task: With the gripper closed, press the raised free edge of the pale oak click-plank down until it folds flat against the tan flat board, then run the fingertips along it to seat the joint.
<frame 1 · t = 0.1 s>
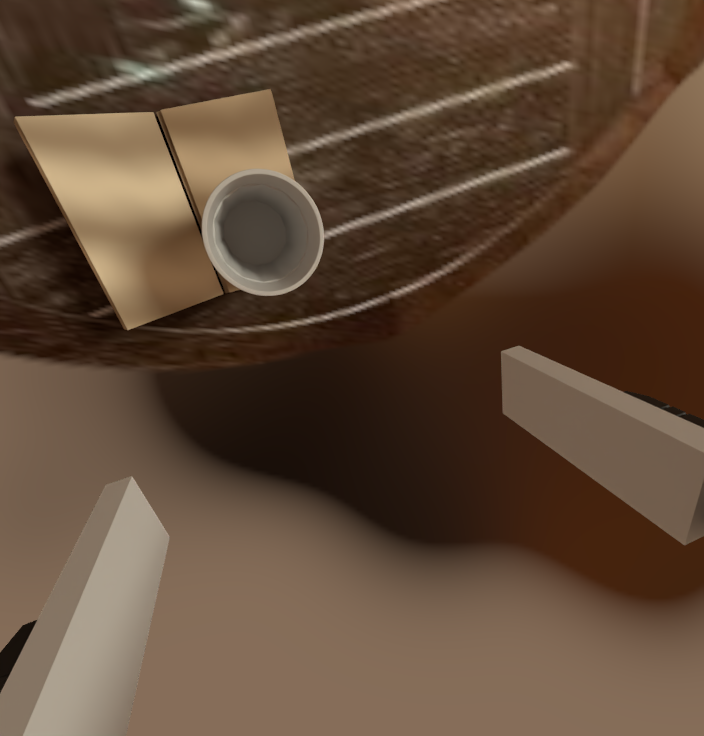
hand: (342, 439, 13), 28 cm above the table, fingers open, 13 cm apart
tan flat board: (248, 199, 33), on the table
cup: (254, 233, 35), resting on tan flat board
plank: (138, 224, 29), point 3 cm above the table, hinge at 30.0°
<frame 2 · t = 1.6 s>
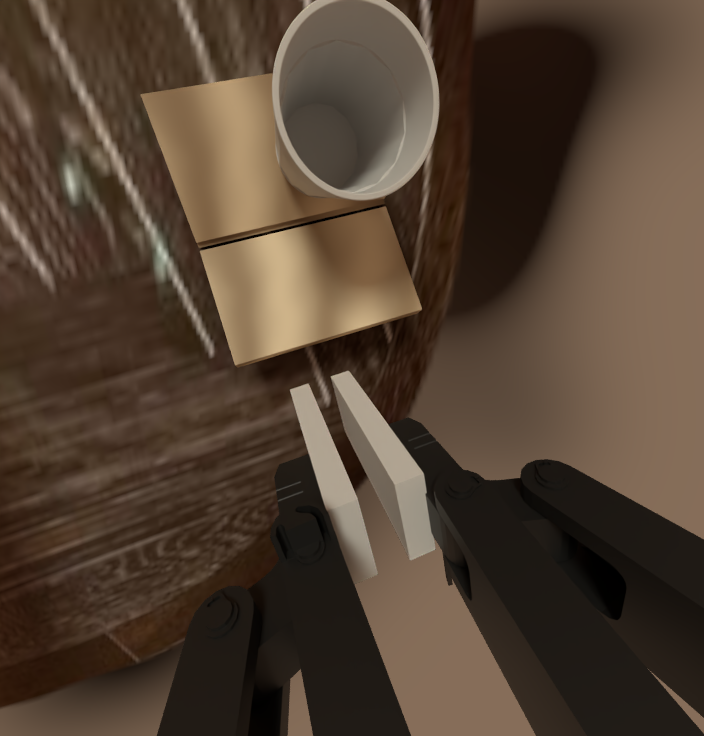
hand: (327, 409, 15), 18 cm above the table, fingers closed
tan flat board: (276, 155, 27), on the table
cup: (316, 154, 27), resting on tan flat board
plank: (314, 283, 28), point 3 cm above the table, hinge at 30.0°
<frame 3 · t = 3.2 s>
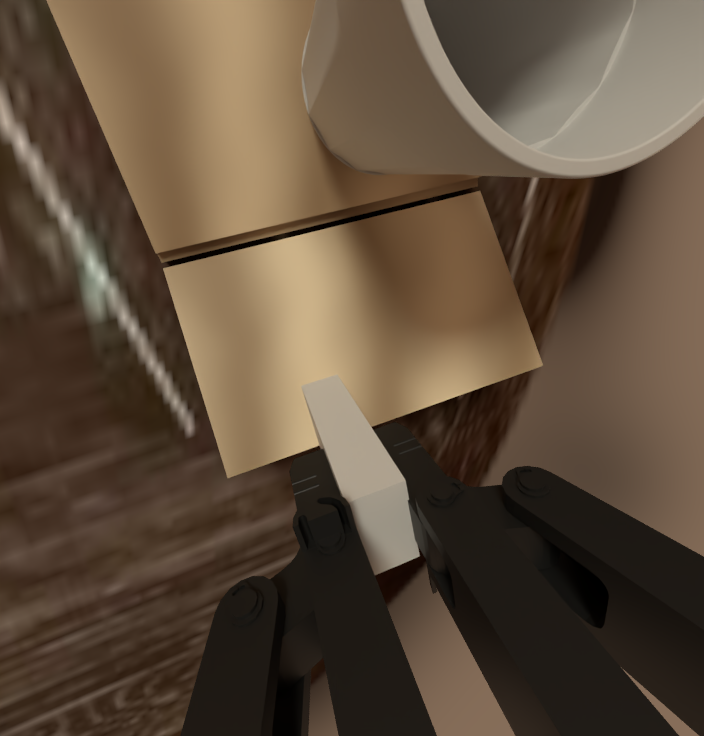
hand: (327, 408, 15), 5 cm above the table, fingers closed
tan flat board: (301, 96, 15), on the table
cup: (369, 95, 16), resting on tan flat board
plank: (363, 323, 16), point 3 cm above the table, hinge at 29.1°, touching gripper
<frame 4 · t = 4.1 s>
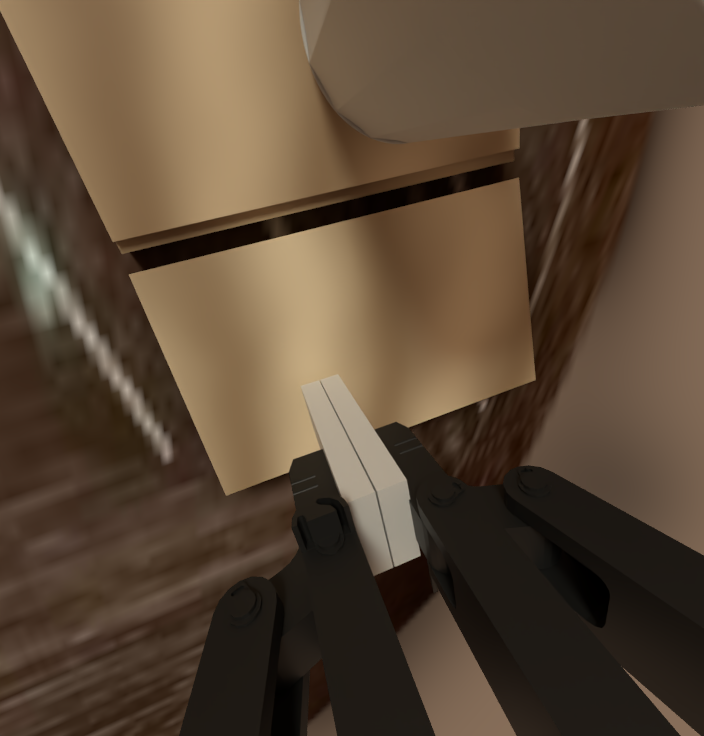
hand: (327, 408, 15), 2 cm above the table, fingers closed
tan flat board: (298, 39, 12), on the table
cup: (384, 42, 12), resting on tan flat board
plank: (367, 334, 15), point 1 cm above the table, hinge at 8.1°, touching gripper
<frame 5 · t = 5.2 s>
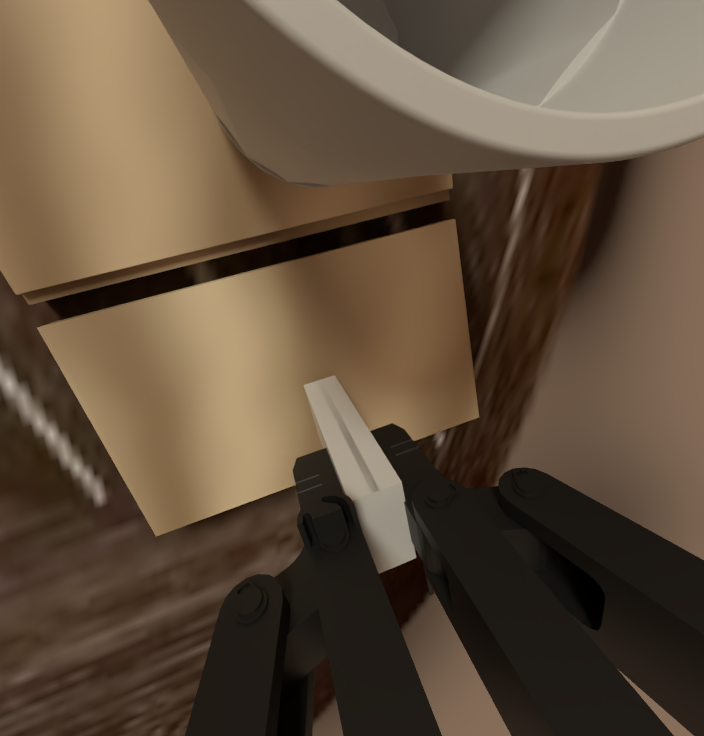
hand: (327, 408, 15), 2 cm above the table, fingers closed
tan flat board: (209, 86, 11), on the table
cup: (303, 87, 12), resting on tan flat board
plank: (300, 376, 15), point 1 cm above the table, hinge at 5.0°, touching gripper
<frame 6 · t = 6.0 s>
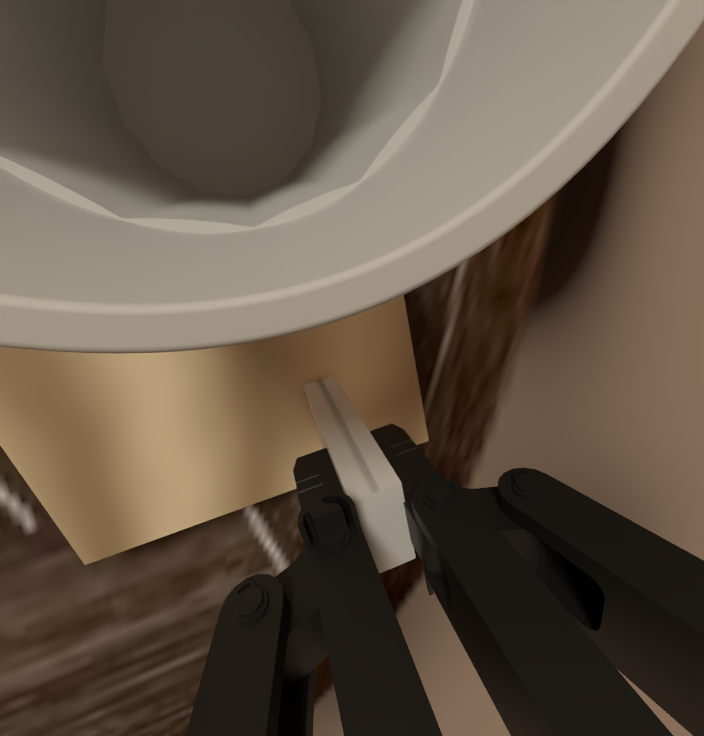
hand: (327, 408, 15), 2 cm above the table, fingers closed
cup: (224, 101, 11), resting on tan flat board
plank: (235, 401, 14), point 1 cm above the table, hinge at 4.0°, touching gripper
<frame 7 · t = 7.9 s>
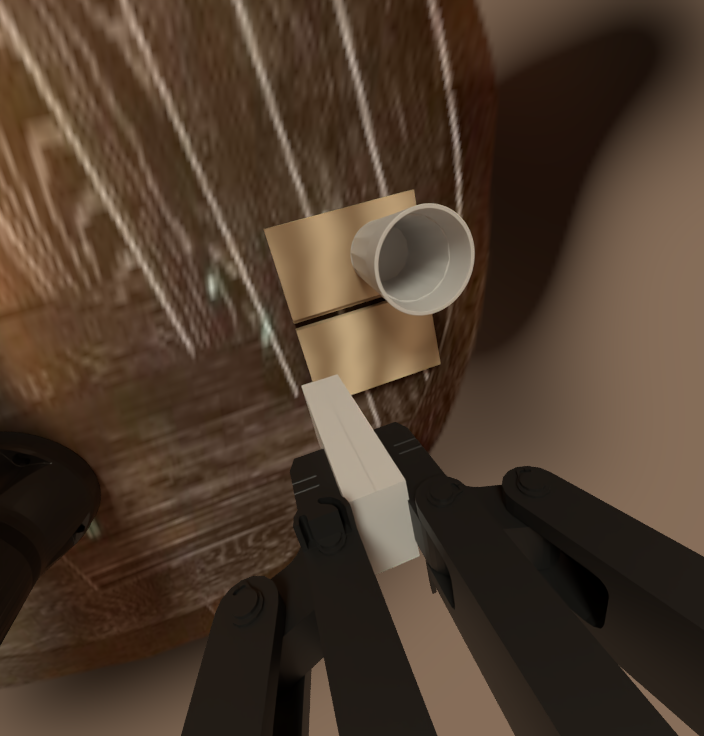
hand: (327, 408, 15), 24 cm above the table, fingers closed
tan flat board: (349, 255, 37), on the table
cup: (376, 251, 37), resting on tan flat board
plank: (371, 347, 40), point 1 cm above the table, hinge at 4.0°
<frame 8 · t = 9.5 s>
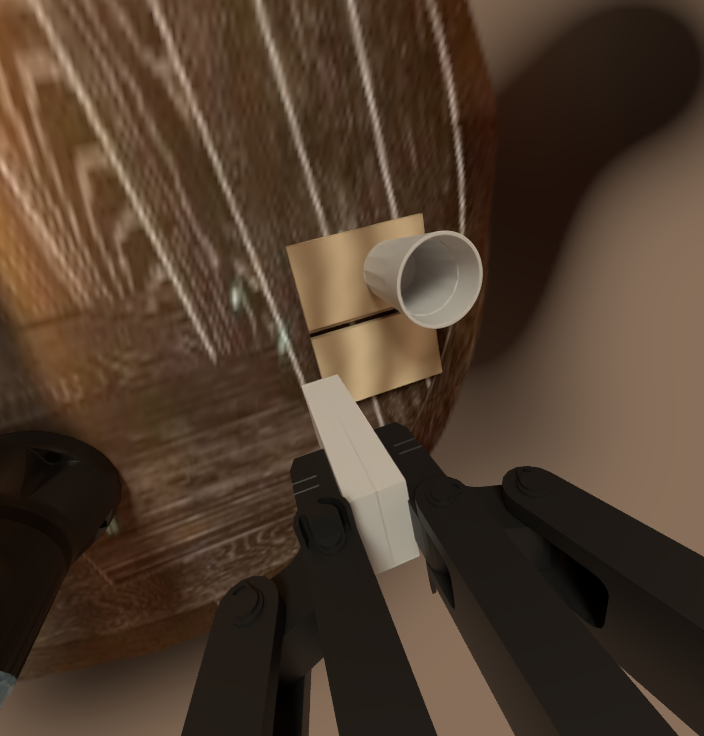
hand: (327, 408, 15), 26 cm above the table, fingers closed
tan flat board: (361, 271, 40), on the table
cup: (386, 268, 41), resting on tan flat board
plank: (379, 356, 43), point 1 cm above the table, hinge at 4.0°
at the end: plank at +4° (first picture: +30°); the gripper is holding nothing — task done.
